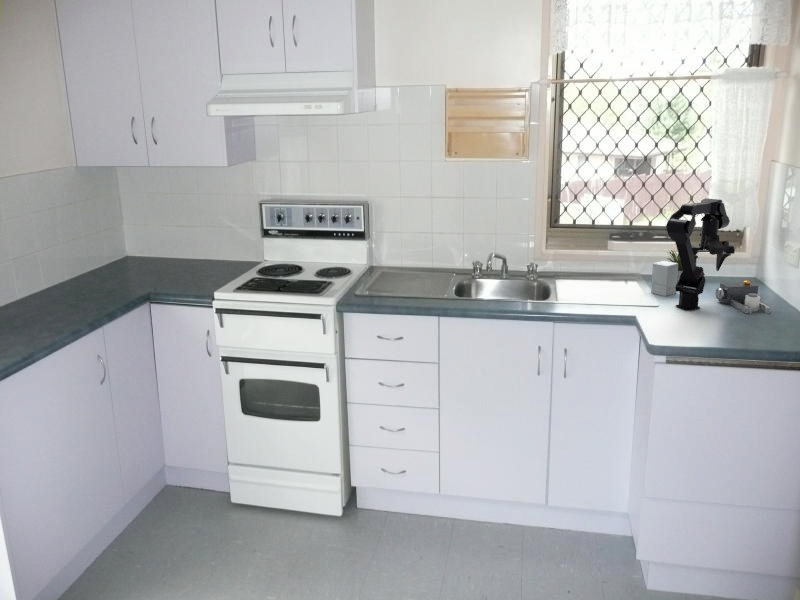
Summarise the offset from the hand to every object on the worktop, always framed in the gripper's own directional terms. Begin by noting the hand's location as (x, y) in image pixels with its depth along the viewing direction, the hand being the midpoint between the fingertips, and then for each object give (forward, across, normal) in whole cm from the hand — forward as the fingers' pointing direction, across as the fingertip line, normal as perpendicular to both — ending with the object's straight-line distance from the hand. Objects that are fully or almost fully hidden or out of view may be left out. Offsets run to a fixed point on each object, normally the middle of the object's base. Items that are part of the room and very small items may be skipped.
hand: (705, 271), depth 277 cm
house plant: (+12, +1, +26) cm, 29 cm away
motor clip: (+12, +11, -9) cm, 19 cm away
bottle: (+12, +12, -14) cm, 22 cm away
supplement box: (+12, -10, +13) cm, 21 cm away
